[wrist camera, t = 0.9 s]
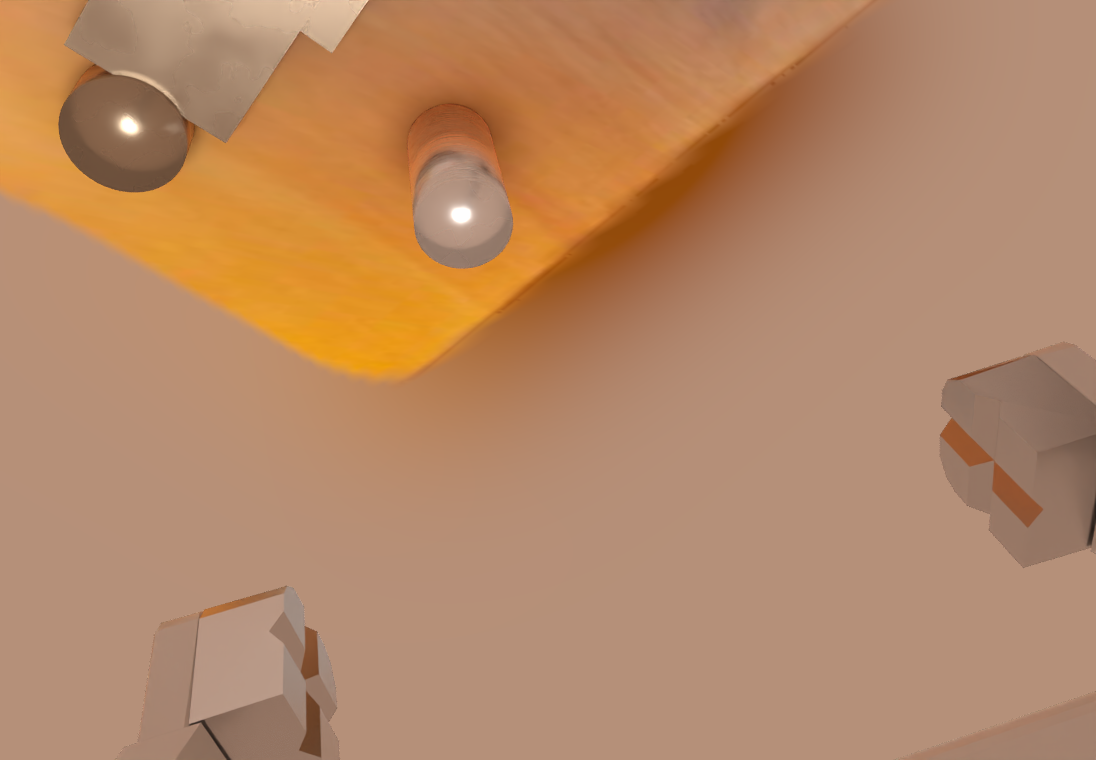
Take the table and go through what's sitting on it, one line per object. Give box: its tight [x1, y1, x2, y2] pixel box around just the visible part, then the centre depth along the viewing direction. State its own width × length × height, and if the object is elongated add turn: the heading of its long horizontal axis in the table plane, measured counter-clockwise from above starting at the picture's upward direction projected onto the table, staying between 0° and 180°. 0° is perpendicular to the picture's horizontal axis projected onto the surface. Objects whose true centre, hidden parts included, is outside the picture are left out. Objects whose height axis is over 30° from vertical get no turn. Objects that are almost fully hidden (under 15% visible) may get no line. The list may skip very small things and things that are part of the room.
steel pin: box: [407, 104, 513, 268], centre depth 42 cm, size 4×4×8 cm
